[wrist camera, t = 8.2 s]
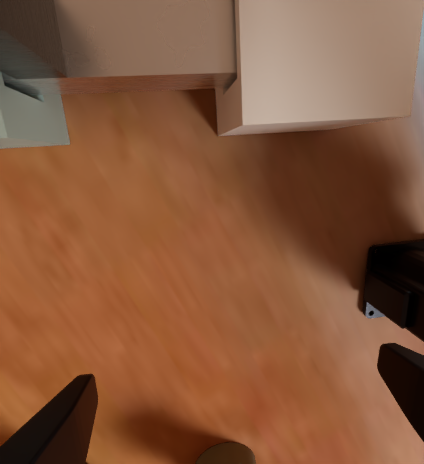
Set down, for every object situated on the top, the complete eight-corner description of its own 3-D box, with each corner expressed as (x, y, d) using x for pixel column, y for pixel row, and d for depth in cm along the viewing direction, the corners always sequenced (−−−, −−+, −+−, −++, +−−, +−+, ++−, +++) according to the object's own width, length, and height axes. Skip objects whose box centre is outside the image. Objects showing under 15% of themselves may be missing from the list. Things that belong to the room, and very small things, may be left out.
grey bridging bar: (254, 24, 15) (369, -163, 6) (255, 86, 15) (358, 0, 7) (-60, 27, 13) (-517, -225, 4) (-40, 97, 14) (-393, 1, 5)
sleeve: (335, 2, 18) (435, -93, 11) (329, 129, 20) (410, 116, 13) (210, 2, 17) (235, -101, 10) (217, 136, 19) (242, 125, 12)
